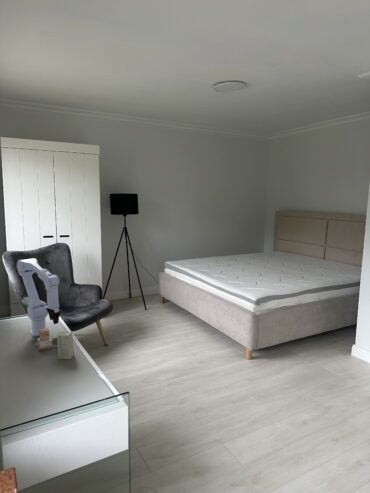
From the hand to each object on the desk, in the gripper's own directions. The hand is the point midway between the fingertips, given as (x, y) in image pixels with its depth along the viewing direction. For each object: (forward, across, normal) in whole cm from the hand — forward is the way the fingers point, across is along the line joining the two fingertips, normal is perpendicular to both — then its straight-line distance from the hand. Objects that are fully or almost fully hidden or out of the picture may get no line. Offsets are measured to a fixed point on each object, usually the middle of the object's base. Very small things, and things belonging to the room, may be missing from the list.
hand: (54, 321), depth 187 cm
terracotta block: (+6, +6, -7) cm, 11 cm away
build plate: (+10, +6, -5) cm, 13 cm away
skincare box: (+11, +25, -1) cm, 27 cm away
